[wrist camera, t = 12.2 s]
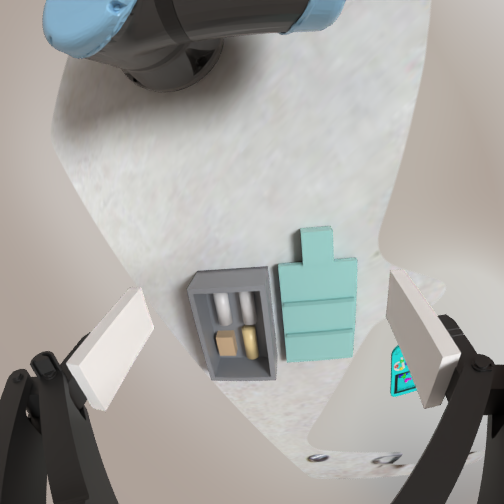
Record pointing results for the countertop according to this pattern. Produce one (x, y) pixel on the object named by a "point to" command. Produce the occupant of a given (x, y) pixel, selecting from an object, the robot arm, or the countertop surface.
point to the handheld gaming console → (400, 374)
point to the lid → (318, 300)
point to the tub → (235, 323)
